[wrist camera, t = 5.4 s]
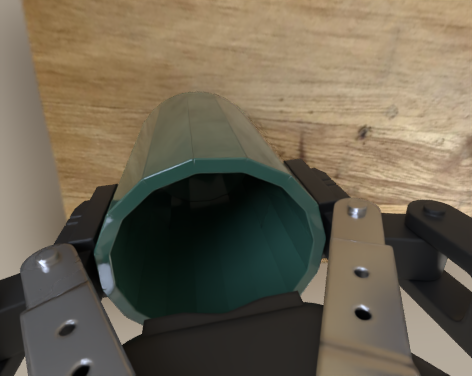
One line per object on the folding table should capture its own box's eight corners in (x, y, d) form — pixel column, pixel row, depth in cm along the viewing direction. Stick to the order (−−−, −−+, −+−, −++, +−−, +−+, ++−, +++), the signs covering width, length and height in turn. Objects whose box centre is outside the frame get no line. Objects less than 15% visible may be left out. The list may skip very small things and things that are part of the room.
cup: (123, 181, 16) (70, 321, 8) (162, 69, 14) (139, 115, 6) (227, 214, 18) (262, 349, 10) (275, 121, 16) (367, 205, 8)
